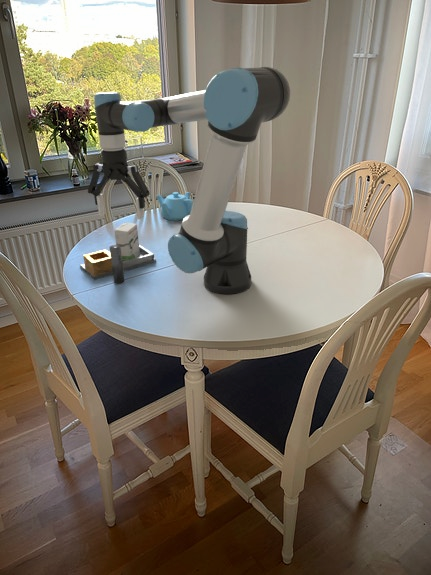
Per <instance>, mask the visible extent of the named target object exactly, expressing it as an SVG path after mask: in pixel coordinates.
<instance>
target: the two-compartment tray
mask: <svg viewBox="0 0 431 575" xmlns="http://www.w3.org/2000/svg"><path fill="white" fill-rule="evenodd" d="M139 250H140V255H139V256H138V257H137V258H134V259H130V260H126V261H123V271H124V272H126V271H129V270H133V269H136V268H140V267H143V266H147V265H151V264H154V263H156V262H157V259H156V258H155V254H154V253H153V252H151V251H150V250H149V249H146V248H145V247H144V246H142V245H141V244H139ZM82 257H83V262H84V263H81V264H79V268H81V270H83V271H84V272H85V273H86V274H87V275H88V276H89V277H90V278H92V280H93V281H96V280H98V279H102V278H105V277H108V276H113V271H112V263H111V256H110V251H108V250H107V249H101V250H98V251H94V252H90V253H86V254H83V256H82Z"/></svg>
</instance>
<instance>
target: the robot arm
mask: <svg viewBox="0 0 431 575" xmlns="http://www.w3.org/2000/svg"><path fill="white" fill-rule="evenodd" d="M290 98H291V88H290V84H289V81H288V79H287V78H286V76H285V75H284V74H283V72H281V71H279V70H278V69H275V68H273V67H269V66H261V67H246V68H245V67H244V68H243V67H233V68H230V69H225V70H222V71H220V72H219V73H217V74H215V75H214V76H213V77H212V78H211V79H210V81H209V82H208V84H207V86H206V88H205V89H203V90H198V91H193V92H187V93H183V94H178V95H174V96H173V95H172V96H166V97H161V98H153V99H144V100H134V101H129V100H128V101H123V100H122V98H121V94H120V93H119V92H116V91H103V92H97V93H95V94H94V96H93V99H94V100H93V101H94V112H95V118H96V126H97V133H98V141H99V147H100V149H101V150H100V156H101V163H102V164H101V163H100V162H97V163H95V164H93V172H92V176H91V180H90V182H89V185H88V189H87V193H88V194H91V195H93V197H94V204H95V205H96V206H97V208H98V209H97V210H98V216H99V217H103V216H104V215H106V210H105V208H106V207H105V202H104V194H103V193H102V191H103V189H104V188H105V187H106V185H107V183H108V182H109V181H110V180H111V181H114V180H116V181H122V182H123V183H125V184H126V185H127V187H129V189H130V191H132V192H133V194H135V196H136V197H137V198H136V199H135V204H136V213H137V220H142V219H143V218H144V208H146V203H145V198H147V197H148V196H149V195H150V194H151V193H150V191H149V189H148V187H147V185H146V183H145V181H144V180H143V177H142V176H141V173H140V172H139V169H138V168H139V166H138V165H137V164H134V165H129V164H128V156H127V155H128V154H127V149H126V148H125V147H126V136H125V131H131V132H134V133H139V132H141V133H142V132H143V133H145V132H148V131H149V130H151V129H153V128H157V127H165V126H172V125H179V124H185V123H192V122H200V121H207V127H208V130H209V131H210V133H211V135H210V139H209V143H208V147H207V151H206V154H205V157H204V161H203V164H202V165H203V166H202V169H201V173H200V176H199V180H198V183H197V188H196V192H195V195H194V199H193V206H192V209H191V213H190V215H188V216H186V217H185V218H184V219H183V220H181V224H180V228H179V232H178V233H174V234H173V235H172V236H170V237H169V239H168V242H167V250H168V254H169V257H170V259H171V261H172V262H173V264H174V265H175V266H176V267H177V268H178V269H179V270H180V271H181V272H184V273H186V274H194V273H197V272H200V271H203V270H204V269H206V270H205V273H204V275H203V286H204V287H205V288H206V289H207V290H208V291H210V292H212V293H216V294H220V295H221V294H222V295H235V294H239V293H244V292H245V291H247V290H248V289H249V288H251V286H252V274H251V271H250V268H249V265H248V262H247V253H248V252H247V251H248V250H247V249H248V230H249V228H248V218H247V217H246V216H245V215H244V214H242V213H240V212H238V211H237V212H236V211H231V210H227V206H228V204H229V200H230V198H231V195H232V192H233V189H234V186H235V182H236V179H237V176H238V173H239V170H240V167H241V165H242V164H241V163H242V161H243V158H244V155H245V152H246V149H247V146H248V145H249V144H253V143H254V142H255V141H256V139H257V136H258V134H259V131H260V128H261V125H262V123H266V122H270V121H271V122H272V121H274V120H275V119H276V118H279V117H280V116H281V115H282V114H283V113H284V112H285V110H286V109H287V108H288V105H289V102H290V100H291V99H290ZM102 171H103V172H104V175H103V176H102V179H101V180H100V181H99V179H100V176H101V172H102ZM129 173H130V174H131V175H132V177H131V175H130V174H129ZM132 178H133V179H132ZM98 182H99V183H98Z"/></svg>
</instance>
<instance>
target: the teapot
mask: <svg viewBox="0 0 431 575" xmlns="http://www.w3.org/2000/svg"><path fill="white" fill-rule="evenodd" d="M156 197H157V200H158V203H159V205H160V206H159V207H160V215H161V216H162V217H163V218H164V219H165V220H168V221H183V219H184V218H185V217H186V216H188V215H190V213H191V209H192V206H193V202H194V199H191V192H189V191H186V192H185V194H180V193H179V192H178V191H174V192H172V194H169V195H166V197H165V198H164V197H163V196H162V195H161V194H156Z"/></svg>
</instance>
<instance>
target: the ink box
mask: <svg viewBox="0 0 431 575" xmlns="http://www.w3.org/2000/svg"><path fill="white" fill-rule="evenodd" d="M114 236H115V237H114V238H115V245H120V246H121V254H122V262H123V261H126V260H130V259H134V258H137V257H138V256H139V255H140V250H139V245H140V243H139V242H140V240H139V230H138V223H133V222H123V223H122V224H120V225H119V226H118V227H117V228H115V229H114Z"/></svg>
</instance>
